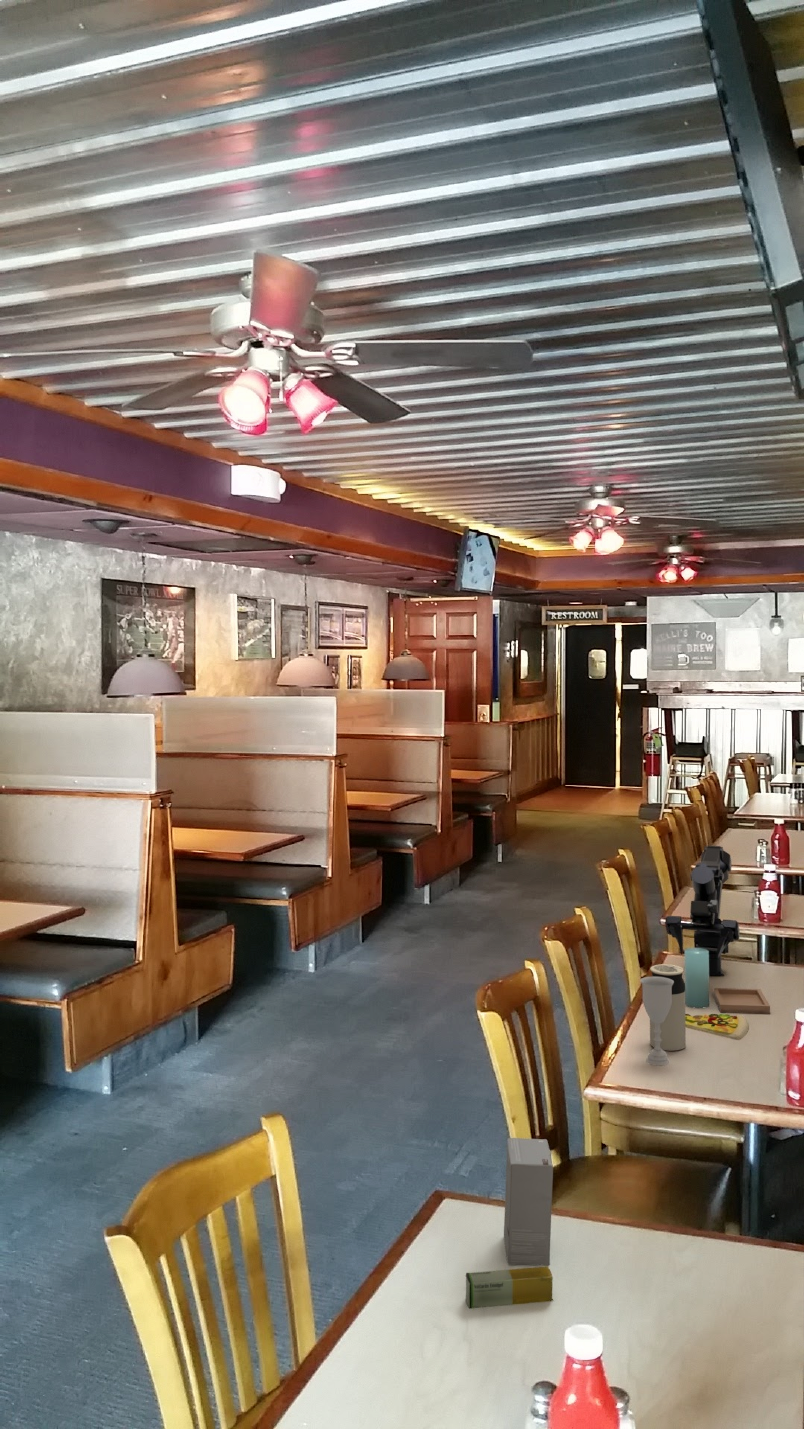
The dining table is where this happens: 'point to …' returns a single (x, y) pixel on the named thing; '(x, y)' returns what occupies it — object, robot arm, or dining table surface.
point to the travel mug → (671, 1010)
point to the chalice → (657, 1011)
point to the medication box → (508, 1287)
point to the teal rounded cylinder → (696, 977)
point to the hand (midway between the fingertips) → (699, 955)
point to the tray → (741, 1001)
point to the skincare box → (528, 1202)
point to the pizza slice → (719, 1025)
